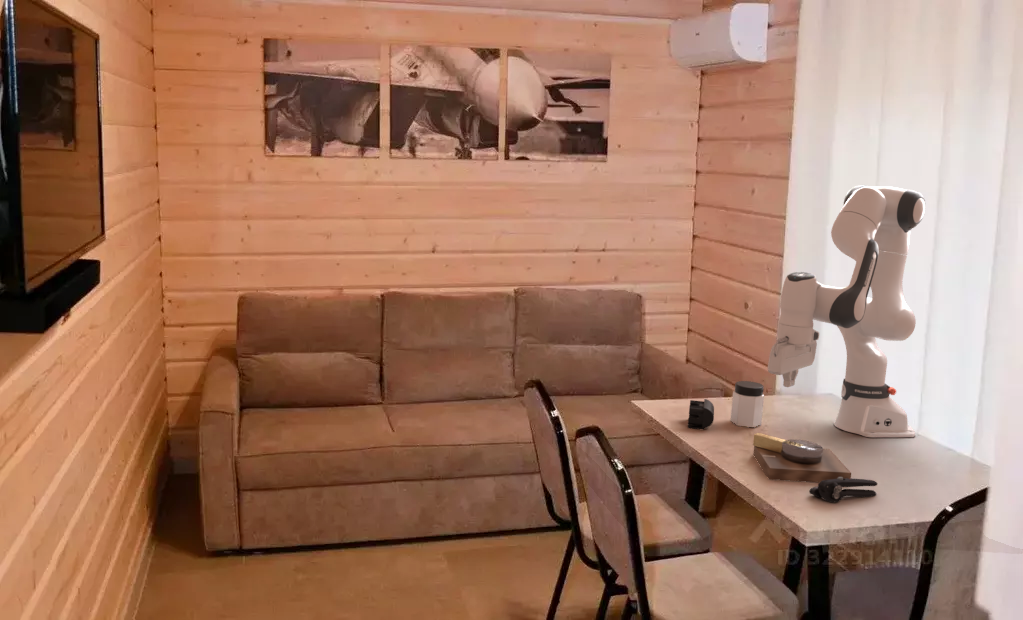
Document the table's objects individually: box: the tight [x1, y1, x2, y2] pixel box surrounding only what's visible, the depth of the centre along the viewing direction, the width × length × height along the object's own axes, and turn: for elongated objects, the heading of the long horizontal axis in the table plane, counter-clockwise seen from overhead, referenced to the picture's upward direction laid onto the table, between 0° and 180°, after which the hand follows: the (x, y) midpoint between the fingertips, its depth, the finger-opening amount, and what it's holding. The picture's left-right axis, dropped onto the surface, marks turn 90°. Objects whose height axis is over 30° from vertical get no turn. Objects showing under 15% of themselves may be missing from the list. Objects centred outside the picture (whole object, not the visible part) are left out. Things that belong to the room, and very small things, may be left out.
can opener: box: [809, 477, 878, 503], centre depth 225 cm, size 18×7×6 cm, turn 109°
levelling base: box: [752, 445, 852, 484], centre depth 243 cm, size 20×18×3 cm
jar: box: [729, 380, 765, 428], centre depth 280 cm, size 9×8×12 cm
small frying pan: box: [752, 432, 824, 464], centre depth 245 cm, size 18×10×3 cm, turn 48°
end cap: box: [687, 398, 715, 430], centre depth 276 cm, size 10×7×7 cm
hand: (788, 386), depth 249 cm, fingers closed
